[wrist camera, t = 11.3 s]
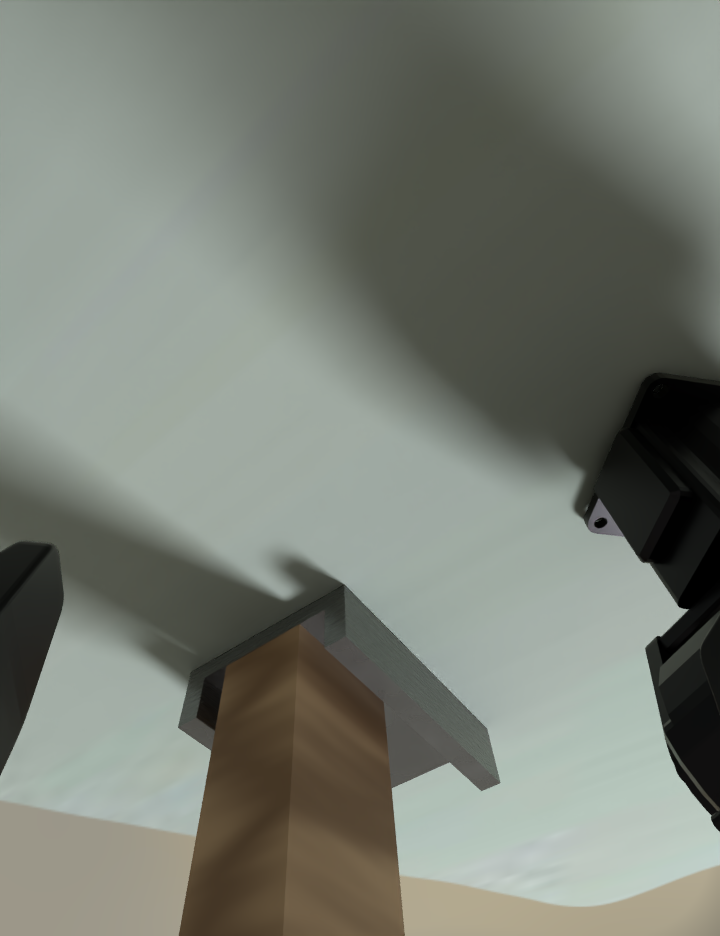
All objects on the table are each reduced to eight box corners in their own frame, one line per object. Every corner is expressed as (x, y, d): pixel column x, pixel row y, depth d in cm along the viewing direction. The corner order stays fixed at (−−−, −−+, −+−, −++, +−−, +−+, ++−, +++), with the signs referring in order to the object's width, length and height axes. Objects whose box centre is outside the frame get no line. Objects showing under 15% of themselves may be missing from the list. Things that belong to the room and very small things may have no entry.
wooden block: (299, 624, 25) (270, 1169, 13) (383, 698, 28) (429, 1212, 15) (226, 666, 26) (130, 1206, 14) (313, 734, 29) (302, 1239, 16)
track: (191, 672, 28) (178, 727, 25) (344, 584, 25) (345, 636, 23) (348, 792, 33) (350, 847, 31) (487, 729, 31) (500, 783, 28)
